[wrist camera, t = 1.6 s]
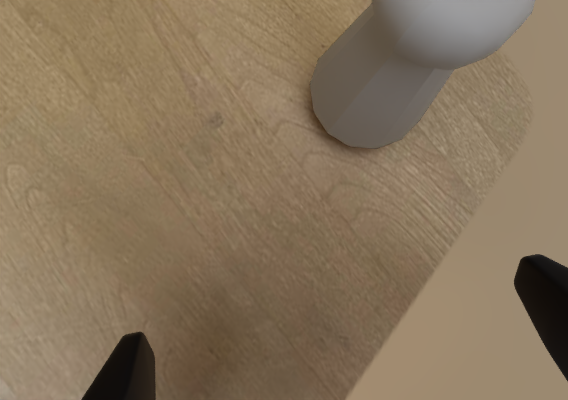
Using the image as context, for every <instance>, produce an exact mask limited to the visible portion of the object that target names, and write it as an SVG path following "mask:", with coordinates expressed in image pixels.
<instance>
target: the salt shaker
mask: <svg viewBox="0 0 568 400" xmlns="http://www.w3.org/2000/svg"><path fill="white" fill-rule="evenodd" d="M534 3H535V0H372V3H371V5H370V6H369V7H368V8H367V9H366V10H365V11H364V12H363V13H362V14H361V15H360V16H359V17H358V18H357V19H356V20H355V21H354V22H353V23H352V24H351V25H350V27H349V28H348V29H347V30H346V31H345V32H344V33H343V34H342V35H341V36H340V37H339V38H338V39H337V40H336V41H335V42H334V43H333V44H332V45H331V46H330V47H329V49H328V50H327V51H326V52H325V53H324V54H323V55H322V56H321V57H320V58H319V59H318V62H317V64H316V67H315V70H314V73H313V76H312V79H311V81H310V88H311V95H312V102H313V109H314V113H315V114H316V116H317V118H318V119H319V121H320V122H321V124H322V125H323V127H324V128H325V130H326V132H327V133H328V134H330V135H332V136H333V137H335V138H336V139H338V140H340V141H341V142H343V143H345V144H346V145H348V146H352V147H361V148H371V149H376V148H379V147H382V146H385V145H388V144H390V143H393V142H396V141H399V140H401V139H402V138H403V137H404V136H405V135H406V134H407V133H408V132H409V131H410V130H411V129H412V128H413V127H414V126H415V125H416V124H417V123H418V122H419V121H420V119H421V118H422V116H423V115H424V113H425V112H426V110H427V109H428V107H429V106H430V105H431V103H432V102H433V100H434V99H435V97H436V96H437V94H438V93H439V91H440V90H441V88H442V87H443V85H444V84H445V83H446V81H447V80H448V78H449V77H450V75H451V74H452V72H453V71H454V70H455V69H457V68H460V67H463V66H466V65H468V64H471V63H474V62H476V61H479V60H482V59H484V58H486V57H487V56H489V55H491V54H492V53H494V52H495V51H497V50H498V49H499V48H500V47H501V46H502V45H503V44H504V43H505V41H507V40H508V39H509V38H510V37H511V35H512V34H513V33H514V32H515V31H516V30H517V29H518V28H519V27H520V26H521V25H522V24H523V23H524V21H525V20H526V19H527V18H528V16H529V15H530V14H531V13H532V10H533V7H534Z"/></svg>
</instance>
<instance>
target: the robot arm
mask: <svg viewBox="0 0 568 400" xmlns="http://www.w3.org/2000/svg"><path fill="white" fill-rule="evenodd" d="M514 286H515V289H516V291H517V293H518V295H519V297H520V299H521V301H522V303H523V305H524V307H525V309H526V311H527V313H528V315H529V316H530V318H531V320H532V322H533V324H534V326H535V328H536V330H537V332H538V334H539V336H540V338H541V340H542V341H543V343H544V345H545V347H546V349H547V350H548V352H549V353H550V355H551V357H552V358H553V360H554V361H555V363H556V364H557V365H558V367H559V369H560V370H561V372H562V373H563V375H564V376H565V378H566V380H567V381H568V268H567V267H565V266H563V265H561V264H559V263H557V262H555V261H553V260H551V259H549V258H547V257H545V256H543V255H540V254H535V255H531V256H526V257H523V258H522V259H521V260H520V263H519V266H518V269H517V272H516V275H515V279H514ZM81 400H156V393H155V357H154V353H153V350H152V348H151V346H150V344H149V342H148V340H147V338H146V336H145V335H144V333H142V332H136V333H131V334H126V335H124V336H123V337H122V338H121V340H120V341H119V343H118V344H117V346H116V347H115V349H114V350H113V352H112V354H111V355H110V357H109V358H108V360H107V361H106V363H105V364H104V366H103V367H102V369H101V370H100V372H99V373H98V375H97V376H96V378H95V380H94V381H93V383H92V384H91V386H90V387H89V389H88V390H87V392H86V393H85V395H84V396H83V398H82V399H81Z"/></svg>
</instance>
